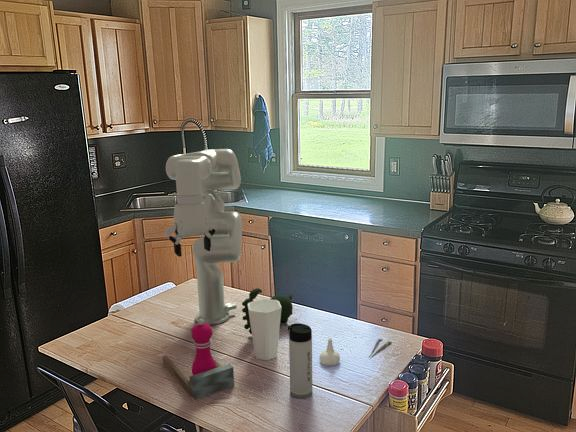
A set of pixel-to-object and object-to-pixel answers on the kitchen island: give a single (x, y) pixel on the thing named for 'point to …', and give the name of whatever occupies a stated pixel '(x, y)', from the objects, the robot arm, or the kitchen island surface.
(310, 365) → the travel mug
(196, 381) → the guide channel
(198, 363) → the pepper mill
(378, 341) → the tweezers
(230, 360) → the kitchen island surface
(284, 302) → the toy figurine
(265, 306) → the cup
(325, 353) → the garlic bulb
